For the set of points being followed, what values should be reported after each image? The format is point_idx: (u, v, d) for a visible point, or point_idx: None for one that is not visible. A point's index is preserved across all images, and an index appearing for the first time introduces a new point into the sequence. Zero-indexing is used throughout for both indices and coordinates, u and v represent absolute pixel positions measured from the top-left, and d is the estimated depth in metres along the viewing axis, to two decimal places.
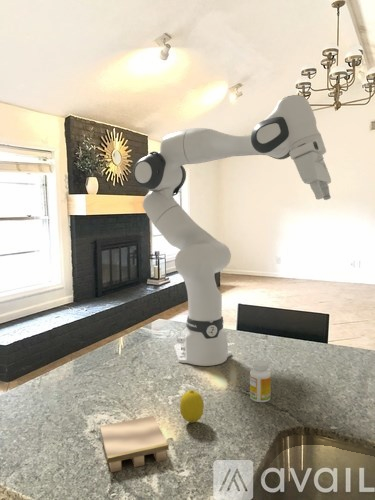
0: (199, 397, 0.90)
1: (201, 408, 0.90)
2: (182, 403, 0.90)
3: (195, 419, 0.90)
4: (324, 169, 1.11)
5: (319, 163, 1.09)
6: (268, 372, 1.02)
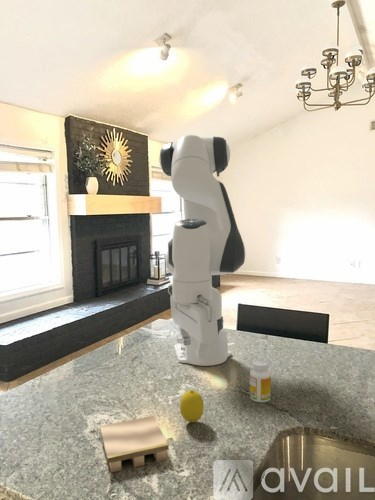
0: (199, 397, 0.90)
1: (201, 408, 0.90)
2: (183, 403, 0.90)
3: (195, 419, 0.90)
4: (192, 321, 0.84)
5: (188, 310, 0.87)
6: (268, 372, 1.02)
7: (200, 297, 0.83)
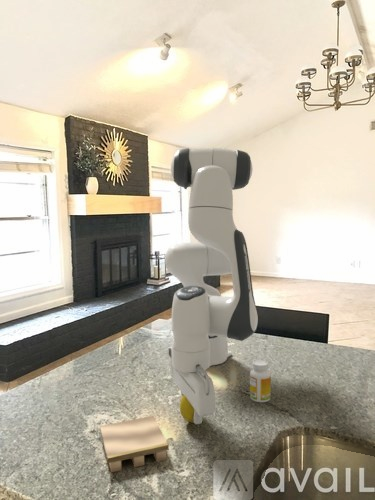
0: None
1: None
2: (183, 403, 0.90)
3: None
4: (190, 390, 0.86)
5: (187, 377, 0.89)
6: (268, 372, 1.02)
7: (198, 368, 0.85)
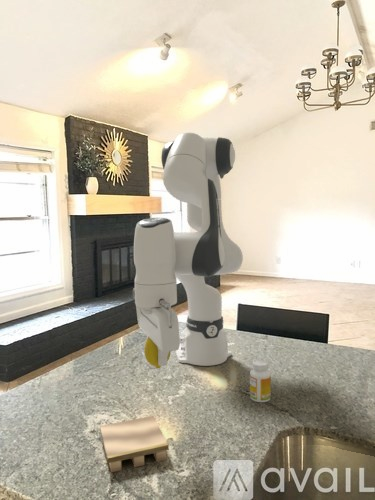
0: None
1: None
2: (147, 345, 0.82)
3: None
4: (154, 327, 0.78)
5: (151, 315, 0.81)
6: (268, 372, 1.02)
7: (162, 301, 0.77)
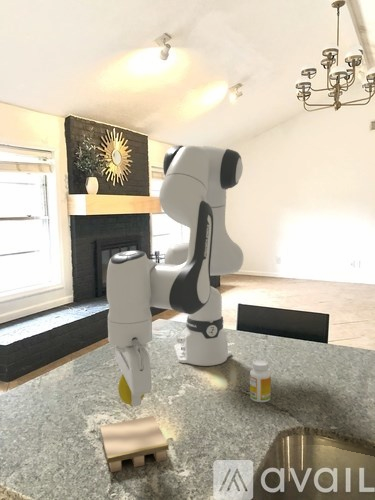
0: None
1: None
2: (120, 383, 0.79)
3: None
4: (126, 367, 0.75)
5: (124, 353, 0.78)
6: (268, 372, 1.02)
7: (134, 341, 0.74)
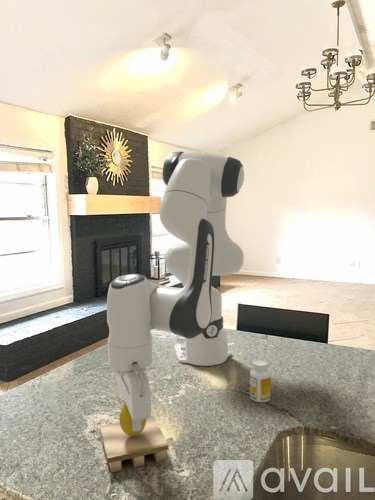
0: None
1: (142, 420, 0.79)
2: (121, 415, 0.79)
3: (135, 433, 0.79)
4: (126, 391, 0.76)
5: (124, 377, 0.79)
6: (268, 372, 1.02)
7: (134, 365, 0.75)
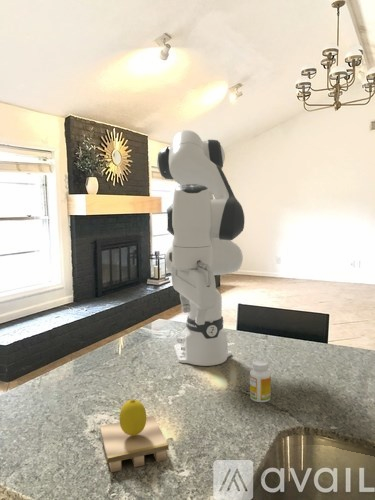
0: (140, 407, 0.80)
1: (142, 420, 0.80)
2: (121, 414, 0.80)
3: (135, 432, 0.79)
4: (191, 287, 0.84)
5: (188, 276, 0.86)
6: (268, 372, 1.02)
7: (199, 262, 0.82)
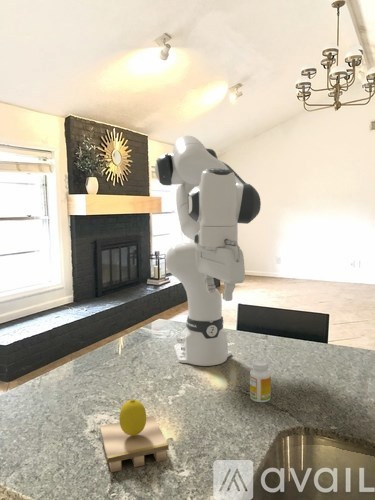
0: (140, 407, 0.80)
1: (142, 420, 0.80)
2: (121, 414, 0.80)
3: (135, 432, 0.79)
4: (219, 264, 0.88)
5: (215, 255, 0.91)
6: (268, 372, 1.02)
7: (227, 240, 0.87)
